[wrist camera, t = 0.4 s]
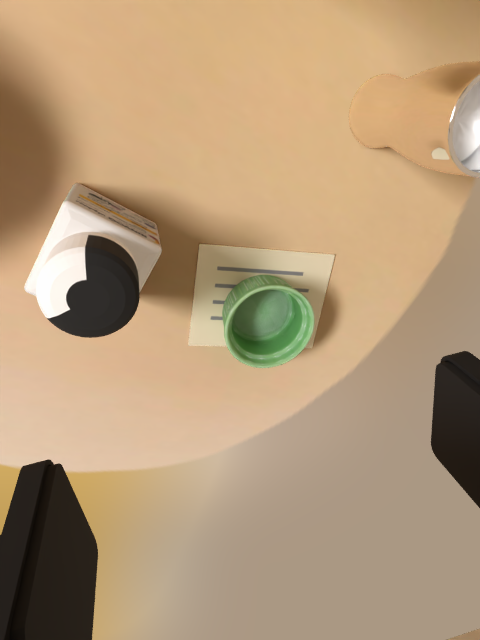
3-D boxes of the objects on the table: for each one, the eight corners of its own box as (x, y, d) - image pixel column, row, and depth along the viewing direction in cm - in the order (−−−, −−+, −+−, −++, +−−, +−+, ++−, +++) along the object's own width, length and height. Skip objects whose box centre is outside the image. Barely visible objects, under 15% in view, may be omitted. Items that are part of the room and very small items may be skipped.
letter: (199, 243, 43) (199, 243, 43) (334, 254, 46) (335, 254, 46) (188, 345, 47) (188, 345, 47) (311, 347, 51) (312, 348, 51)
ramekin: (202, 291, 45) (209, 310, 41) (285, 254, 45) (299, 269, 41) (235, 359, 49) (244, 382, 45) (310, 325, 49) (325, 345, 46)
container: (158, 223, 41) (169, 275, 30) (120, 294, 43) (117, 366, 32) (75, 180, 38) (52, 219, 27) (39, 258, 40) (4, 324, 29)
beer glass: (331, 96, 39) (431, 101, 26) (400, 51, 39) (537, 32, 26) (360, 167, 43) (461, 202, 30) (424, 126, 42) (556, 143, 29)
